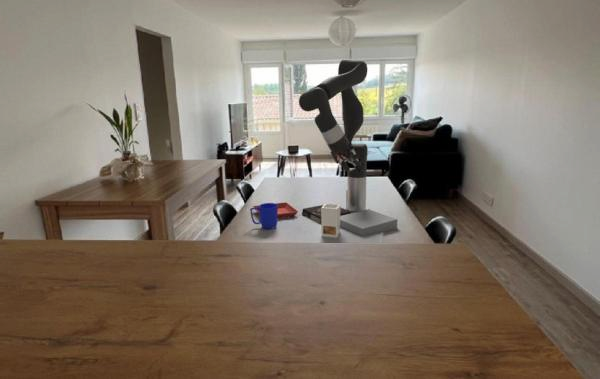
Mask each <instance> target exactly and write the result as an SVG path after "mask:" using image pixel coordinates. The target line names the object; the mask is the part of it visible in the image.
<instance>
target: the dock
mask: <svg viewBox="0 0 600 379" xmlns="http://www.w3.org/2000/svg"><path fill="white" fill-rule="evenodd" d="M340 228H344V229H346V230H348V231H349V232H352V233H355V234H357V235H358V236H362V237H364V236H368V235H370V234H375V233H377V232H381V231H382V233H384V232H388V231H392V230H395V229H398V218H395V217H392V216H390V215H386V214H383V213H380V212H378V211H374V210H372V209H366V210H364V211H359V212H351V214H347V215H343V216H340Z"/></svg>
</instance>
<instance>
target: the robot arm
mask: <svg viewBox="0 0 600 379" xmlns="http://www.w3.org/2000/svg"><path fill="white" fill-rule="evenodd" d="M367 75H368V65H367V63H366V62H365V61H364V60H359V59H350V58H343V59H341V60H340V61H339V64H338V69H337V75H333V76H331V77H328V78H326V79H324V80H323V81H322V82H320V83H319V84H317V85H316V86H313V87H312V88H310V89H308V90H306V91H304V92H303V93H301V94H300V96H299V99H298V105H299V107H300V109H301V110H303V112H312V111H315V110H318V114H317V115H316V116H315V117H314V123H315V125H316V127H317V128H318V130H319V131H320V133H321V136H322V138H323V140H324V141H325V143H326V145H327V146H328V148H329V150H330V154H331V156H332V158H333V160H334V162H335V163H336V164H339V165H340V166H341V168H343V170H344V172H345V173H347V190H346V191H345V193H346V194H345V198H346V199H345V208H346V210H348V211H350V212H352V213H355V212H359V211H364V210H367V209H366V208H367V206H366V205H367V164H368V163H367V162H368V152H369V151H368V146H367V144H366V143H353V142H352V141H354V138H355V135H357V133H358V132H359V131H360V129H361V127H362V126H363V124H364V118H365V117H364V107H363V105H362V102H361V101H360V100H359V98H358V96H357V95H356V93H355V91H354V90H353V87H354V86H357V85H359V84H361V83H363V82H364V81H365V80H366V78H367ZM340 93H341V94H340ZM338 94H340V95H341V106H342V121H343V129H342V126H340V124H339V123H338V121H337V120H336V117H335V116H334V115H333V112H332V108H331V103H330V100H331V99H333V98H334V97H335V96H336V95H338ZM348 163H349V164H352V165H353V166H354V168H350V166H349V165H348Z"/></svg>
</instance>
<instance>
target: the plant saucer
mask: <svg viewBox="0 0 600 379" xmlns="http://www.w3.org/2000/svg"><path fill="white" fill-rule="evenodd" d="M275 204H277V205H278V212H277V220H278V219H279V220H280V219H286V218H292V217H295V216H296V215H297V214H298V213H299V211H298V210H297V209H296V208H295V207H294V206H292V205H291V204H290V203H288V202H278V203H277V202H276V203H275ZM259 205H260V204H258V205H253V206H252V208H255V207H259ZM254 210H255V211H256V213H258V214H259V210H257V209H254Z"/></svg>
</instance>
